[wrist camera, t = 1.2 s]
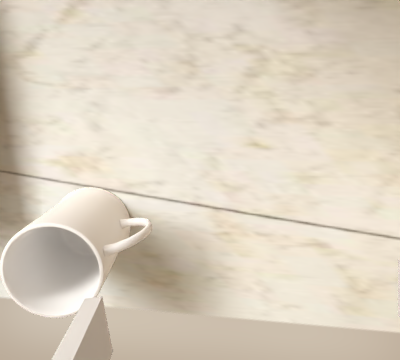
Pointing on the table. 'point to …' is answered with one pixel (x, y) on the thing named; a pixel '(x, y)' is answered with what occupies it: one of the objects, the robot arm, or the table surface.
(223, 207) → the table surface
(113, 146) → the table surface
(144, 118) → the table surface
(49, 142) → the table surface
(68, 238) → the mug
